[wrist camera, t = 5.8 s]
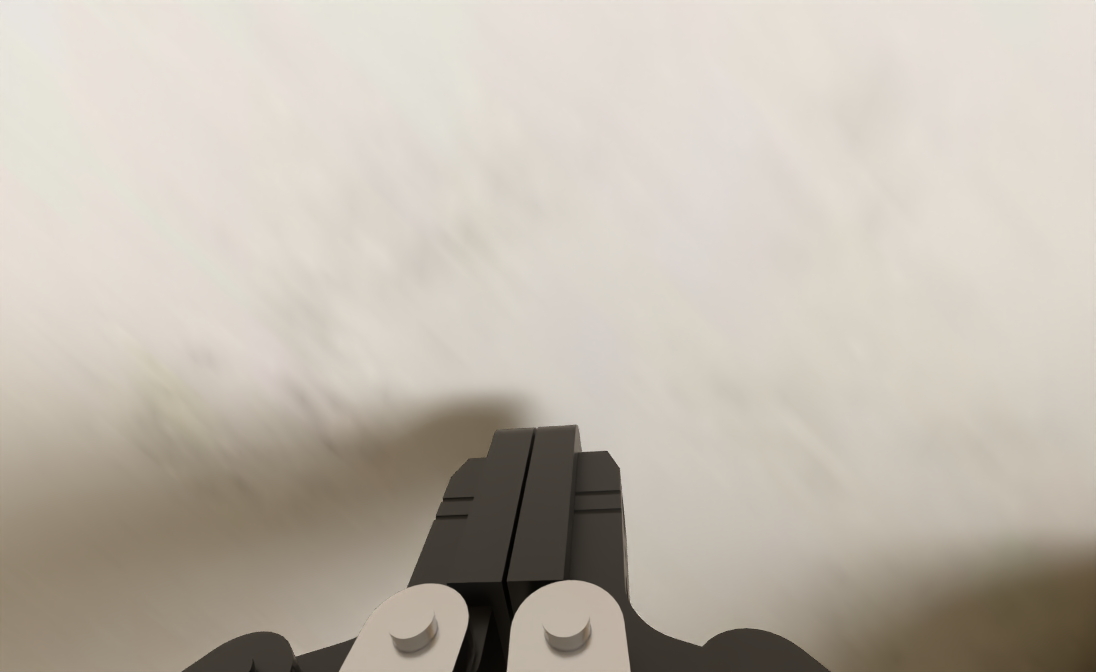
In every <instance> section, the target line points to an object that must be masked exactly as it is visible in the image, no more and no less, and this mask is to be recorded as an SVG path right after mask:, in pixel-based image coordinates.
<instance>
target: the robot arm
mask: <svg viewBox="0 0 1096 672" xmlns="http://www.w3.org/2000/svg"><path fill="white" fill-rule="evenodd" d="M182 672H830V671H829V670H828V669H826V668H825V667H824V666H823V665H821V664H820V663H819V662H818V661H816V660H815V659H814V658H813V657H811V656H810V655H809V654H807V653H806V652H805V651H804V650H802V649H801V648H800V647H798V646H797V645H795V644H794V643H792V642H791V641H789V640H787V639H785V638H783V637H781V636H779V635H776V634H773V633H771V632H767V631H763V630H758V629H748V628H745V629H734V630H730V631H726V632H723V633H721V634H718V635H716V636H715V637H713V638H712V639H710V640H709V641H708V642H707V643H706V644H705V645H704V646H703V647H701V646H697V645H694V644H691V643H687V642H684V641H681V640H677V639H674V638H672V637H669V636H666V635H664V634H662V633H660V632H658V631H656V630H655V629H653V628H652V627H650V626H649V625H648V624H646V623H645V622H644V621H643V620H642V619H641V618H640V617H639V616H638V615H637V613H636V612H635V611H634V609H633V608H632V606H631V604H630V598H629V581H628V561H627V540H626V528H625V517H624V507H623V497H622V486H621V476H620V468H619V467H618V465H617V464H616V462H615V461H614V460H613V458H612V457H611V456H610V454H609V453H608V451H596V452H582V450H581V442H580V434H579V429H578V426H577V425H566V426H549V427H538V428H537V429H536V428H519V429H503V430H496V432H495V434H494V437H493V440H492V443H491V446H490V449H489V452H488V455H487V458H471V459H468V460H467V461H466V462H465V464H464V465H463V466H462V467H461V468H460V469H459V470H458V471H457V472H456V473H455V474H454V475H453V476H452V477H451V479H450V481H449V484H448V486H447V489H446V491H445V494H444V496H443V502H441V504H440V507H439V509H438V512H437V514H436V520H434V522H433V524H432V527H431V529H430V532H429V534H428V537H427V539H426V542H425V544H424V547H423V549H422V552H421V554H420V557H419V559H418V562H417V564H416V567H415V569H414V572H413V574H412V577H411V579H410V582H409V584H408V587H407V588H406V589H404V590H402V591H399V592H397V593H396V594H394V595H392V596H391V597H389V598H388V599H386V600H385V601H384V602H382V603H381V604H380V605H379V606H378V607H377V608H376V609H375V610H374V611H373V613H372V614H371V615H370V616H369V618H368V619H367V621H366V622H365V624H364V626H363V628H362V629H361V631H360V633H359V635H358V637H356V638H354V639H351V640H348V641H345V642H343V643H339V644H336V645H333V646H330V647H326V648H323V649H320V650H317V651H313V652H310V653H307V654H304V655H300V656H297V657H295V655H294V653H293V650H292V648H291V646H290V644H289V642H288V641H287V640H286V639H285V638H284V637H283V636H281V635H279V634H276V633H272V632H255V633H250V634H246V635H243V636H240V637H237V638H235V639H232V640H230V641H228V642H226V643H224V644H223V645H221V646H219V647H218V648H216V649H214V650H213V651H211V652H210V653H208V654H207V655H205V656H204V657H203V658H201V659H200V660H198V661H197V662H195V663H194V664H192V665H191V666H189V667H188V668H186V669H185V670H183V671H182Z"/></svg>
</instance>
